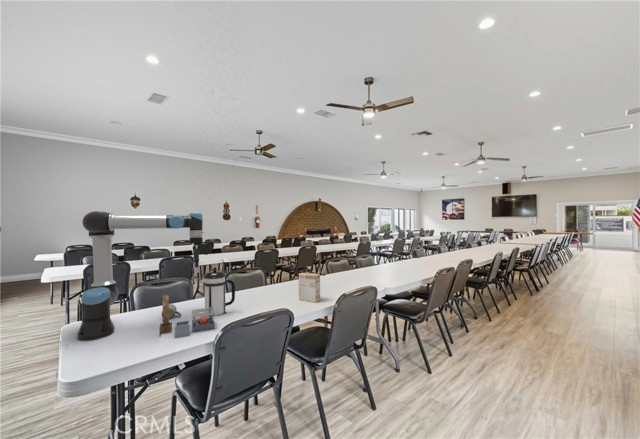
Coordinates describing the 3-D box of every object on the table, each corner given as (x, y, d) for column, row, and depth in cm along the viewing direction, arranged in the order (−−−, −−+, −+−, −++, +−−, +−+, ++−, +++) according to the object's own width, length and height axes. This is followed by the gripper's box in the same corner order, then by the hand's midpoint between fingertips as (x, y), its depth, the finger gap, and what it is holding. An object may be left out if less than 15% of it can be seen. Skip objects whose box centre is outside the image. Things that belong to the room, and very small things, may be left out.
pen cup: (175, 340, 142) (174, 326, 142) (175, 335, 148) (175, 322, 148) (189, 338, 144) (189, 324, 144) (189, 333, 150) (189, 320, 150)
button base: (192, 335, 148) (192, 315, 148) (192, 328, 158) (191, 309, 158) (214, 331, 153) (214, 312, 153) (213, 324, 163) (213, 307, 163)
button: (199, 328, 153) (199, 319, 153) (199, 326, 156) (199, 317, 157) (207, 327, 155) (207, 318, 155) (207, 325, 158) (206, 316, 158)
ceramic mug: (160, 321, 170) (161, 308, 170) (162, 316, 177) (163, 304, 177) (180, 319, 174) (180, 306, 174) (181, 314, 181) (181, 302, 181)
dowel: (162, 335, 148) (162, 296, 148) (163, 333, 151) (162, 295, 151) (168, 334, 149) (168, 296, 149) (169, 332, 152) (168, 294, 152)
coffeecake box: (320, 300, 210) (320, 273, 210) (315, 303, 204) (315, 275, 204) (303, 297, 218) (303, 272, 218) (298, 300, 212) (298, 273, 212)
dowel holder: (159, 336, 146) (159, 327, 146) (160, 333, 151) (160, 323, 151) (171, 335, 149) (171, 325, 149) (172, 331, 153) (171, 322, 153)
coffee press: (221, 320, 170) (220, 269, 170) (197, 318, 173) (196, 269, 173) (235, 311, 187) (235, 265, 187) (213, 309, 190) (212, 264, 190)
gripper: (203, 237, 171) (203, 273, 171) (201, 236, 194) (201, 267, 194) (189, 238, 168) (189, 274, 168) (189, 236, 191) (189, 268, 190)
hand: (196, 270), depth 181 cm, fingers open, 13 cm apart
